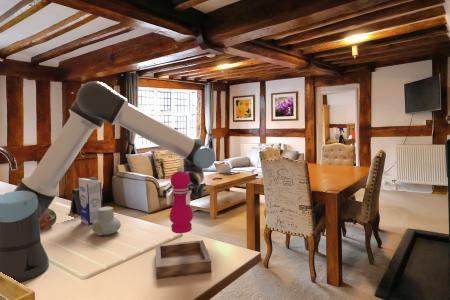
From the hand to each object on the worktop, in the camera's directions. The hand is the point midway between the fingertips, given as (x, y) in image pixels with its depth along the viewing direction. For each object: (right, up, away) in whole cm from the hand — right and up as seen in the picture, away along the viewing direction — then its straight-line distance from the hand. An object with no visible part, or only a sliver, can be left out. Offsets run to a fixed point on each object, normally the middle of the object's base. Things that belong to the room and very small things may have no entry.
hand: (177, 200), depth 92 cm
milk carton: (-44, -17, +47) cm, 67 cm away
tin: (-64, -18, +38) cm, 77 cm away
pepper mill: (0, -10, +7) cm, 12 cm away
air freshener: (-33, -19, +34) cm, 51 cm away
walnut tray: (0, -21, +8) cm, 22 cm away
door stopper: (-56, -16, +60) cm, 84 cm away
